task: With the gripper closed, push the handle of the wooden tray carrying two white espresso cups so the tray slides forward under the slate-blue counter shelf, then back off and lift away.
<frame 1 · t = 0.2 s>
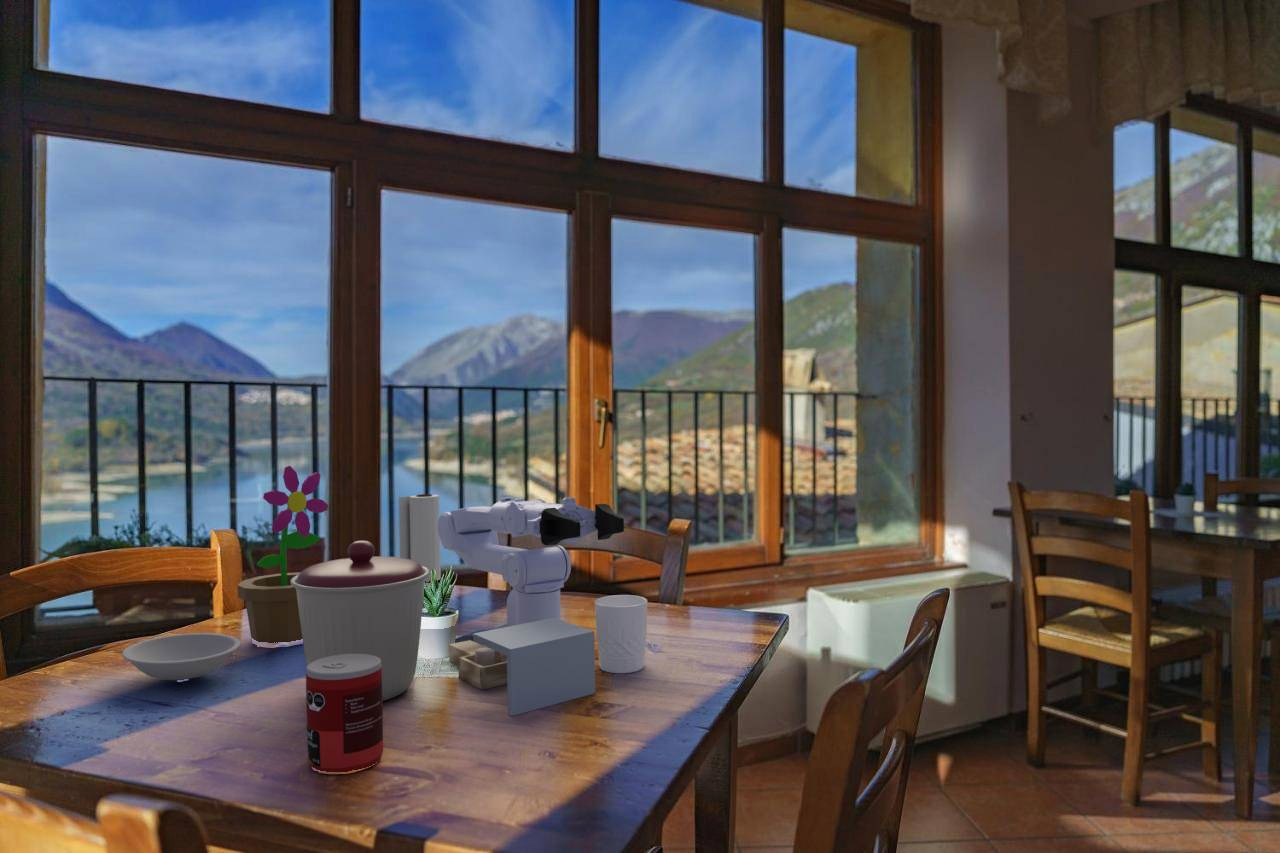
hand: (600, 527, 125), 21 cm above the table, tool horizontal, fingers open, 7 cm apart
counter: (534, 694, 114), on the table
white cup: (621, 668, 126), on the table
flowerpot: (285, 641, 144), on the table
dish: (183, 682, 123), on the table
canister: (364, 695, 116), on the table
wooden tray: (498, 677, 122), on the table
paper towel roll: (423, 598, 176), on the table
canned food: (346, 763, 93), on the table
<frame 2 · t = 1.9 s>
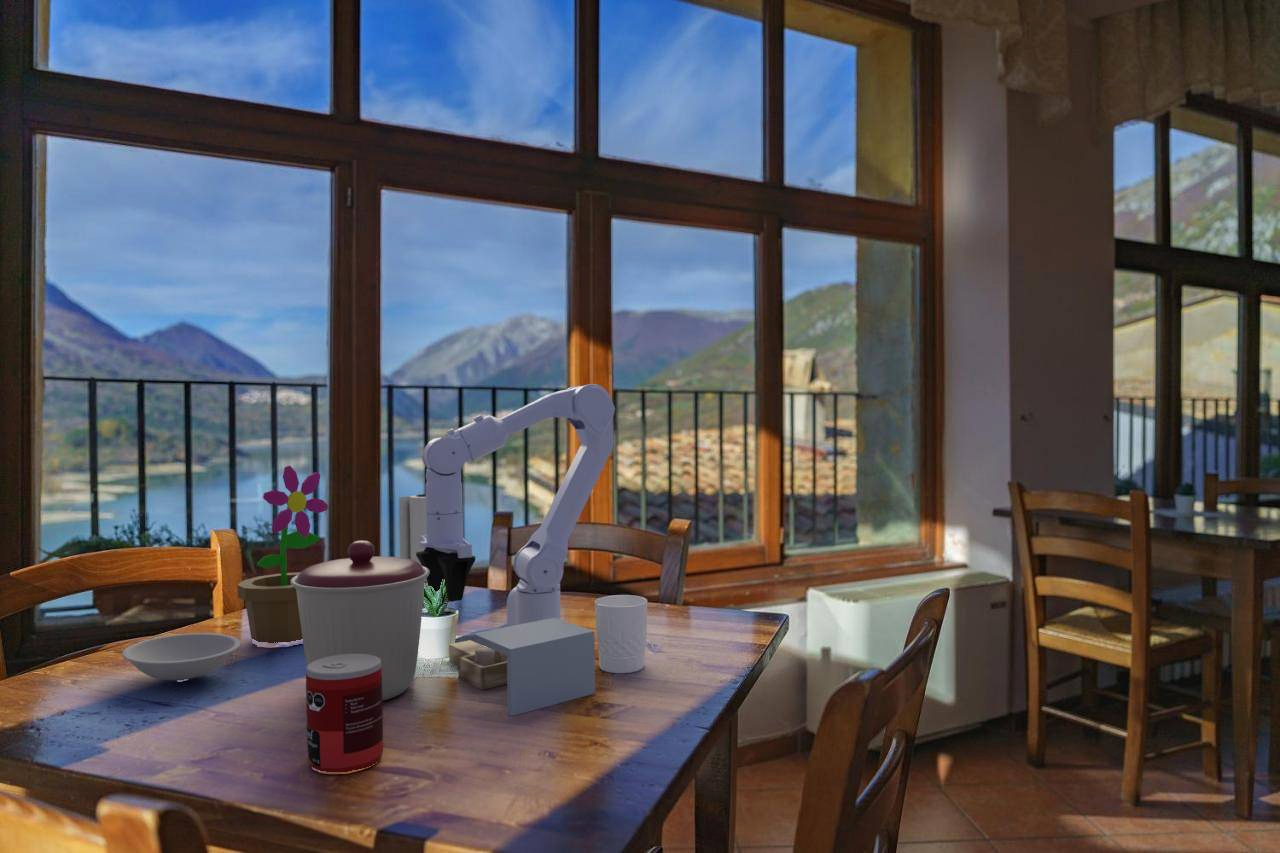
hand: (446, 597, 135), 9 cm above the table, tool pointing down, fingers open, 6 cm apart
nothing on the table moved.
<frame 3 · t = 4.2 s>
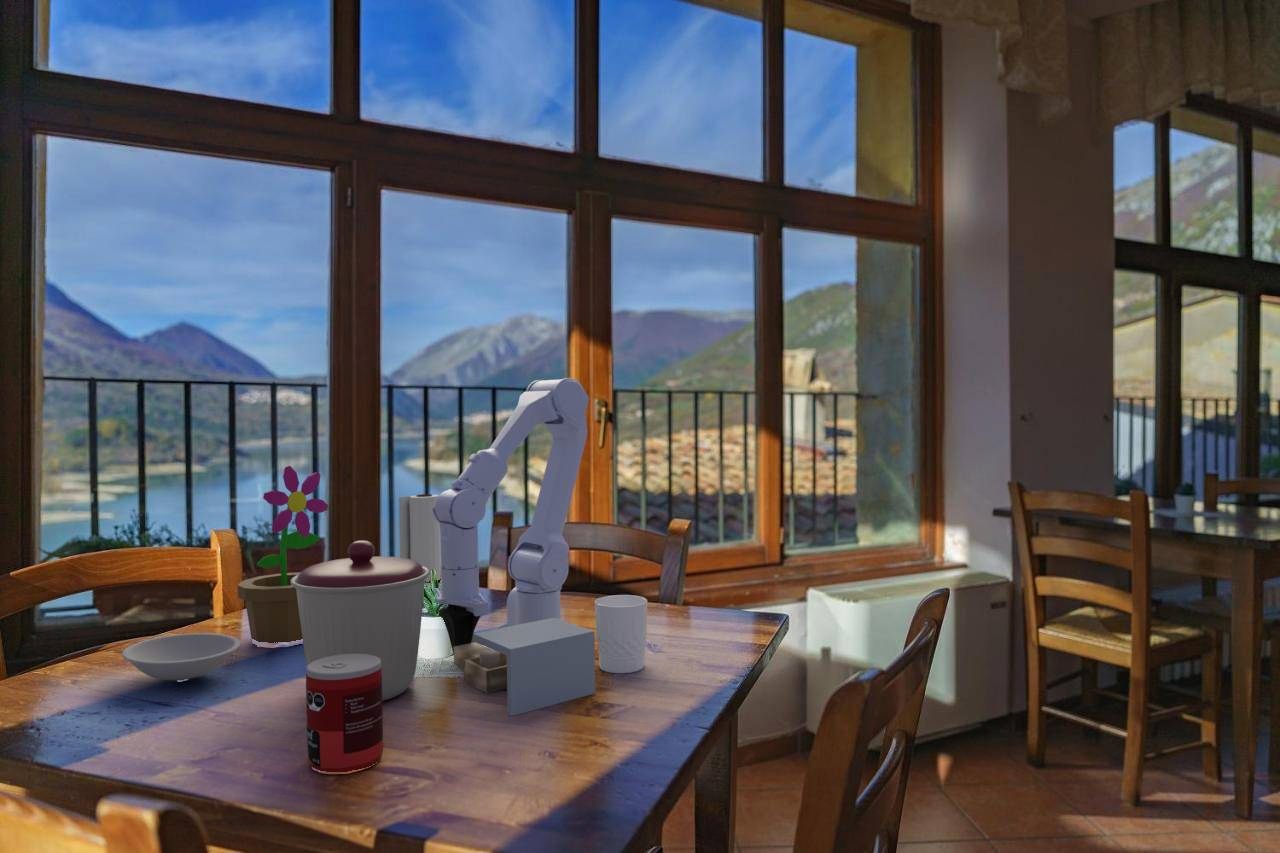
hand: (461, 653, 131), 1 cm above the table, tool pointing down, fingers closed
wooden tray: (503, 679, 121), on the table, touching gripper
everything else where it was.
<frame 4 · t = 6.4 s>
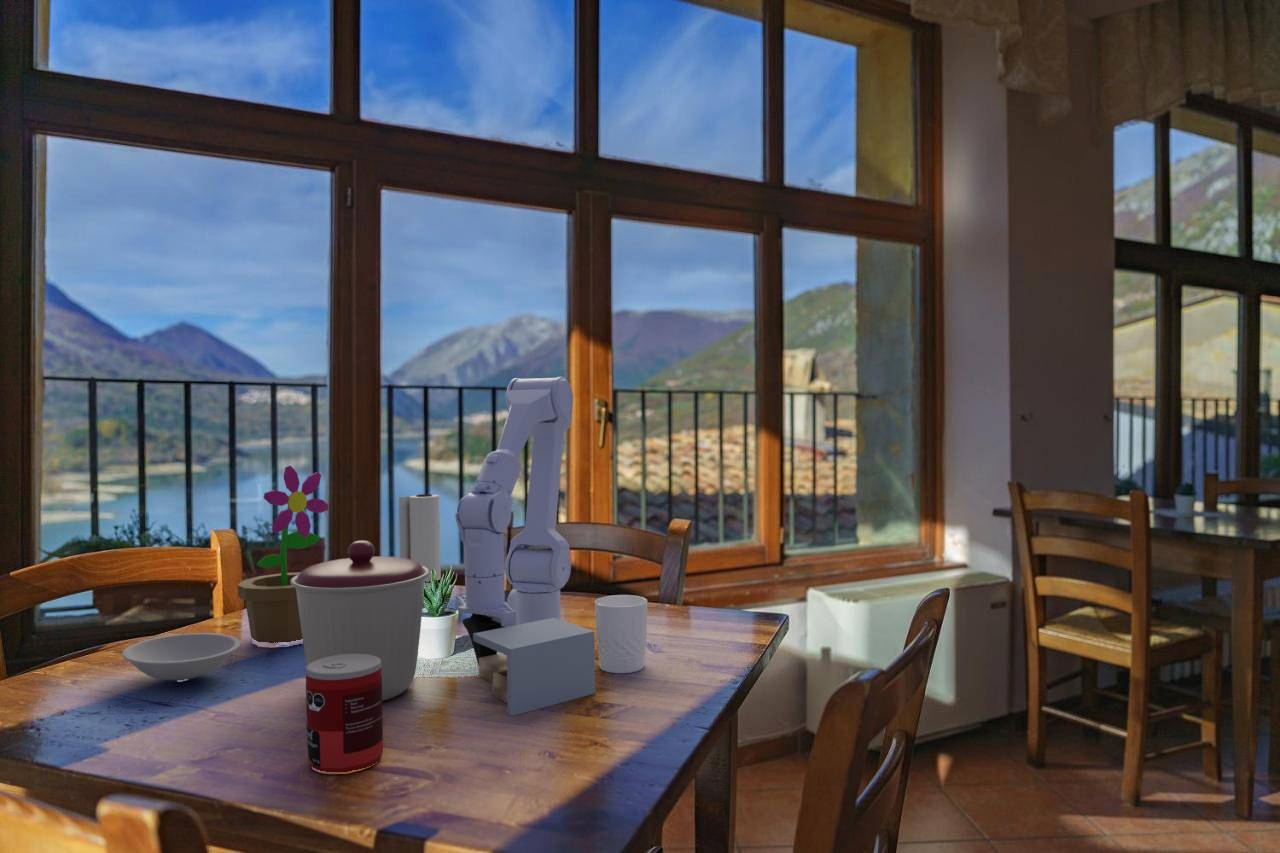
hand: (486, 665, 125), 1 cm above the table, tool pointing down, fingers closed
wooden tray: (533, 693, 115), on the table, touching gripper
everything else where it was.
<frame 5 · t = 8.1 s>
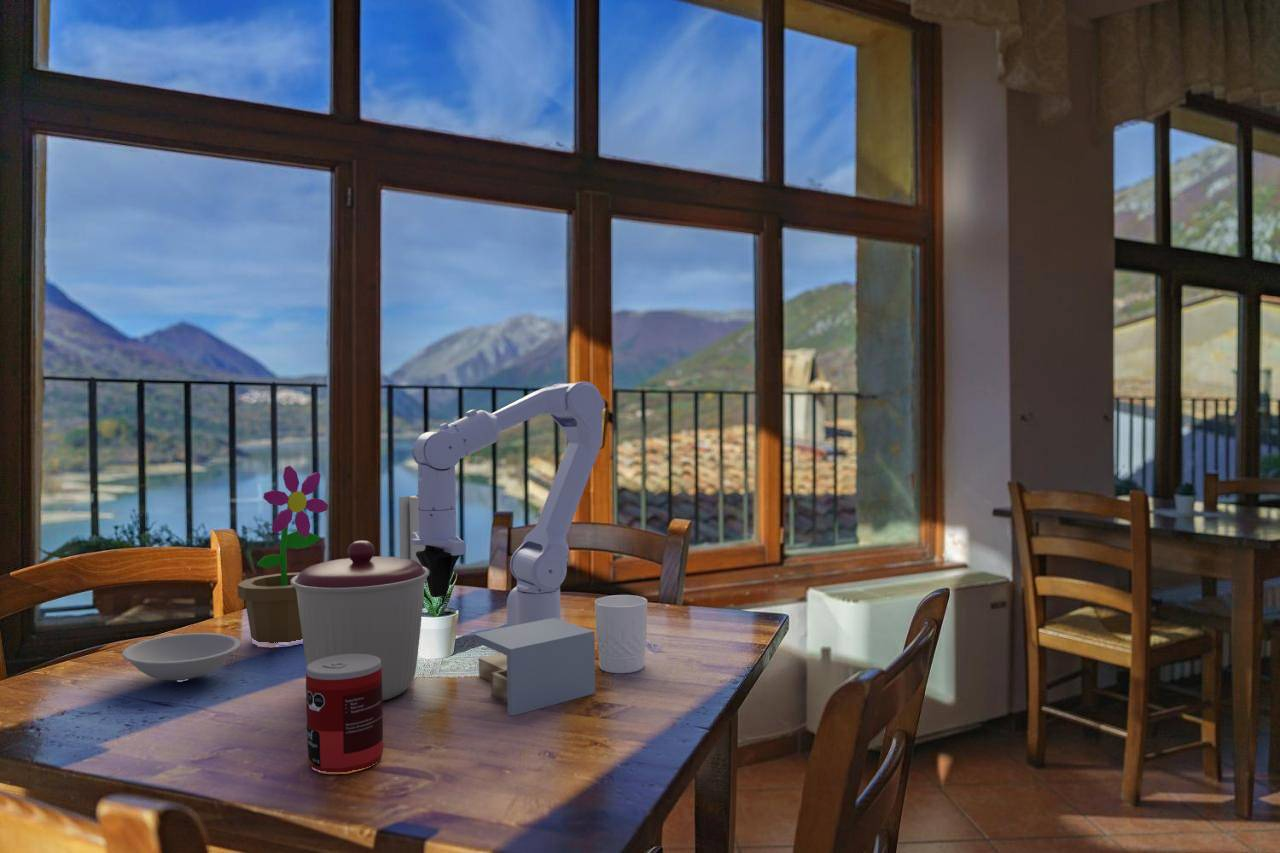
hand: (438, 595, 131), 10 cm above the table, tool pointing down, fingers closed
wooden tray: (533, 693, 115), on the table
everything else where it was.
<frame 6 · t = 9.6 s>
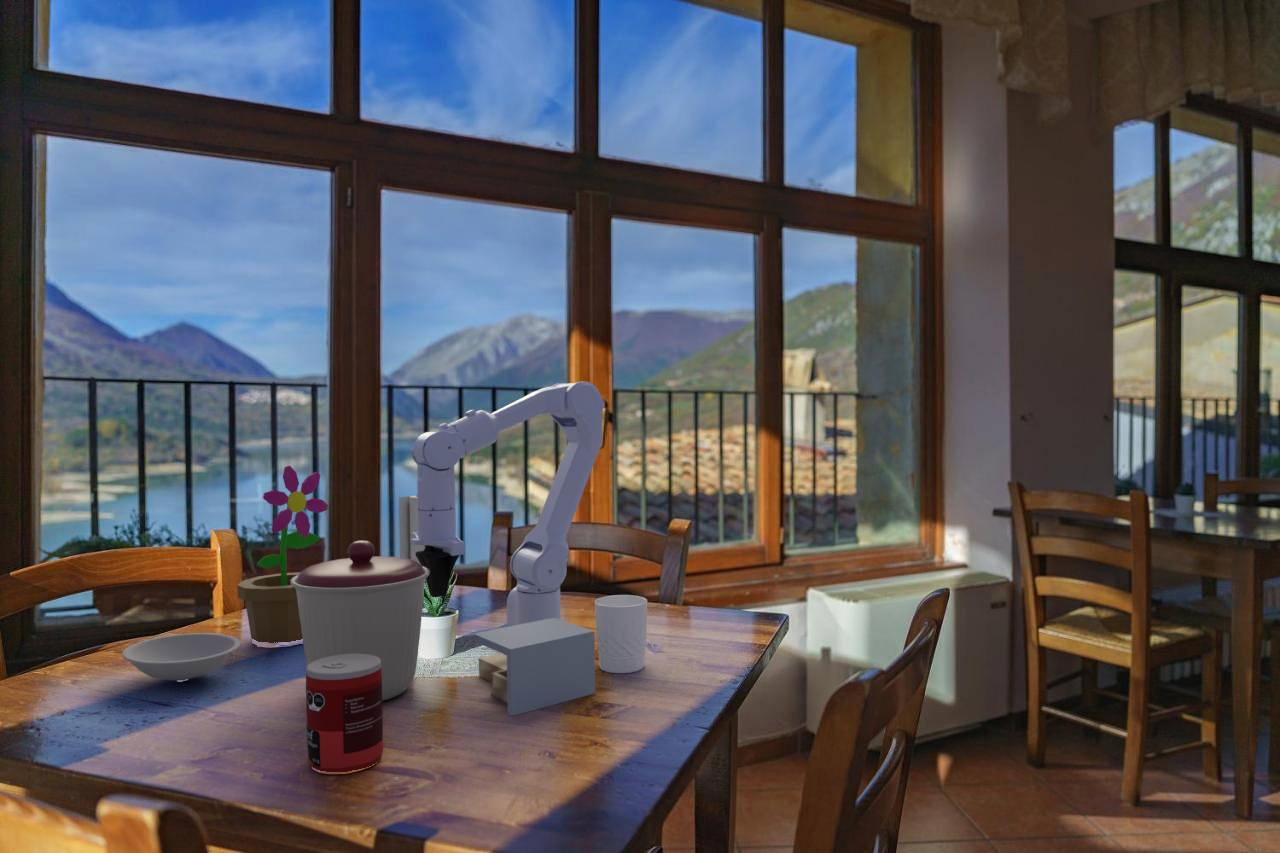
hand: (438, 595, 131), 10 cm above the table, tool pointing down, fingers closed
nothing on the table moved.
at the end: wooden tray 0.3 cm off-centre on the counter, point 0.0 cm above the counter's base; wooden tray tilted 0°; wooden tray moved 9.6 cm from its start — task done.
